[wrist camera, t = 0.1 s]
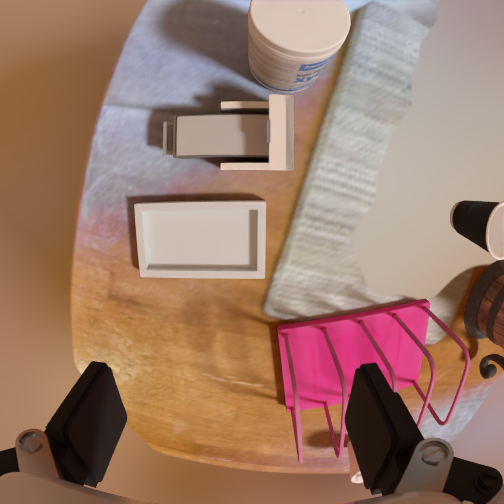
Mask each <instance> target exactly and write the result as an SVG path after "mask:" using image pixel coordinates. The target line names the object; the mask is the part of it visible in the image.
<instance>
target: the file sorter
mask: <svg viewBox="0 0 504 504" xmlns="http://www.w3.org/2000/svg"><path fill="white" fill-rule="evenodd" d="M429 316H430V317H431V318H432V319H433V320H434V321H435V322H436V323H437V324H438V325H439V326H440V327H441V328H442V329H443V330H444V331H445V332H446V333H447V334H448V335H449V336H450V337H451V338H452V339H453V340H454V341H455V342H456V343H457V344H458V345H459V346H460V347H461V348H462V350H463V352H464V355H465V369H464V372H463V375H462V379H461V381H460V385H459V387H458V390H457V393H456V395H455V398H454V401H453V404H452V406H451V408H450V411H449V413H448V416H447V418H446V420H445V421H444V422H442V421H441V420H440V419H439V417H438V416H437V414H436V413H435V411H434V410H433V408H432V407H431V405H430V403H429V400H430V396H431V393H432V390H433V386H434V383H435V377H436V369H435V364H434V360H433V358H432V356H431V354H430V353H429V352H428V350H427V349H426V348H425V347H424V346H425V340H426V333H427V326H428V319H429ZM277 332H278V340H279V349H280V358H281V367H282V376H283V385H284V395H285V405H286V411H287V412H291V415H292V421H293V428H294V435H295V442H296V448H297V455H298V461H299V463H300V462H303V456H302V437H301V421H300V410H306V409H312V408H318V407H324V408H325V413H326V417H327V421H328V425H329V429H330V434H331V438H332V442H333V446H334V450H335V454H336V457H337V458H341V457H342V454H343V446H344V437H345V428H346V426H345V413H346V409H347V403H348V401H349V397H350V393H351V388H352V384H353V379H354V374H355V370H356V369H357V368H360V365H361V364H366V363H374V362H375V363H377V364H378V366H379V368H380V370H381V371H382V373H383V375H384V376H385V378H386V380H387V382H388V383H389V385H390V387H391V389H392V390H393V392H397V390H398V389H401V388H405V387H408V386H411V385H414V387H415V388H416V390H417V391H418V393H419V395H420V396H421V398H422V399H423V401H424V404H423V407H422V411H421V413H420V417H419V419H418V422H417V427H418V429H419V428H420V426H421V423H422V420H423V417H424V415H425V412H426V409H427V407H428V409H429V410H430V412H431V414H432V415H433V417H434V418H435V420H436V421H437V423H438V424H439V425H445V424H447V423H448V422H449V420H450V418H451V416H452V413H453V411H454V409H455V406H456V404H457V401H458V399H459V396H460V394H461V391H462V388H463V385H464V382H465V379H466V376H467V373H468V370H469V366H470V357H469V352H468V349H467V347H466V346H465V344H464V343H463V342H462V341H461V340H460V339H459V338H458V337H457V336H456V335H455V334H454V333H453V332H452V331H451V330H450V329H449V328H448V327H447V326H446V325H445V324H444V323H443V322H442V321H441V320H440V319H439V318H437V317H436V316H435V315H434V314H433V313H432V312H431V311H430V302H429V301H428V300H427V299H421V300H417V301H413V302H408V303H403V304H398V305H394V306H389V307H384V308H379V309H374V310H369V311H363V312H358V313H352V314H347V315H341V316H335V317H329V318H323V319H317V320H310V321H304V322H297V323H289V324H281V325H278V326H277ZM423 353H424V355H425V356H426V357H427V359H428V361H429V364H430V367H431V380H430V384H429V387H428V391H427V394H426V397H425V396H424V394H423V393H422V391H421V389H420V388H419V386H418V385H417V382H418V377H419V372H420V368H421V362H422V357H423ZM340 403H342V418H341V431H340V442H339V450H338V446H337V442H336V438H335V434H334V430H333V426H332V422H331V418H330V414H329V411H328V406H330V405H335V404H340ZM294 411H295V413H294ZM295 417H296V419H295Z"/></svg>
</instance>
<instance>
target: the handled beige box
mask: <svg viewBox="0 0 504 504" xmlns="http://www.w3.org/2000/svg"><path fill="white" fill-rule="evenodd" d="M266 120H269V114H199V115H179V116H174V121H169V122H164V125H163V155H172V154H173V158H181V159H188V158H263V159H269V144H267V143H266ZM168 126H174V128H173V150H168Z"/></svg>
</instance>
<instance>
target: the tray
mask: <svg viewBox="0 0 504 504" xmlns="http://www.w3.org/2000/svg"><path fill="white" fill-rule="evenodd" d="M134 208H135V224H136V237H137V249H138V259H139V268H140V277H164V278H247V279H265V243H266V201H265V200H198V201H161V202H139V203H136V204H134Z"/></svg>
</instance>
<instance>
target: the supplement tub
mask: <svg viewBox="0 0 504 504" xmlns="http://www.w3.org/2000/svg"><path fill="white" fill-rule="evenodd" d="M349 28H350V15H349V11H348V9H347V7H346V5H345V3H344V2H343V1H342V0H251V2H250V7H249V10H248V62H249V67H250V70H251V72H252V74H253V76H254V77H255V79H256V80H257V81H258V82H259V83H260V84H262V85H263V86H265V87H266V88H268V89H270V90H273V91H276V92H281V93H294V92H298V91H301V90H304V89H306V88H307V87H309V86H310V85H311V84H313V82H314V81H315V80H316V79H317V77H318V76H319V75H320V73H321V72H322V71H323V69H324V68H325V67H326V65H327V64H328V63H329V61H330V60H331V59H332V57H333V56H334V55H335V53H336V52H337V51H338V49H339V48H340V47H341V45H342V44H343V42H344V41H345V39H346V36H347V34H348V32H349Z"/></svg>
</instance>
